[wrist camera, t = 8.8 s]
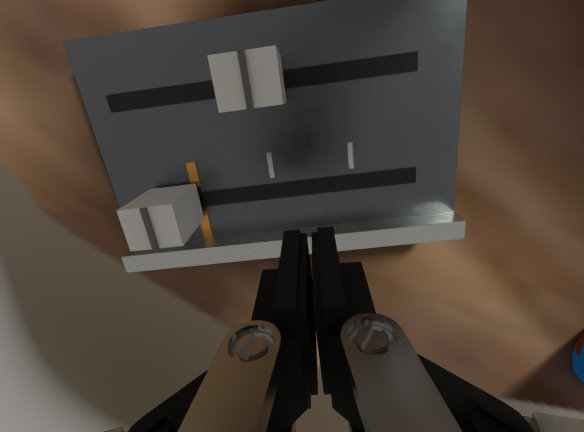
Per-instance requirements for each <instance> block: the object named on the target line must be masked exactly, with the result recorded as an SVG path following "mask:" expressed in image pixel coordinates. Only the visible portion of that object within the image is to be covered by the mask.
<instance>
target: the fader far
mask: <svg viewBox="0 0 584 432" xmlns="http://www.w3.org/2000/svg"><path fill="white" fill-rule="evenodd" d="M117 214H118V217H119V220H120V223H121V226H122V229H123V231H124V234H125V237H126V240H127V243H128V246H129V249H130V251H139V250H148V249H152V250H158V249H159V248H167V247H176V246H184V244H185V243H186V242H187V240H188V239H189V238H190V236H191V235H192V234H193V232H194V231H195V230H196V228H197V227H198V226H199V225H200V223H201V222H202V221H203V219H204V216H203V212H202V208H201V203H200V199H199V195H198V191H197V187H196V184H188V185H179V186H171V187H163V188H154V189H149V190H148V191H146V192H145V193H143V194H142V195H140V196H138V197H137V198H135V199H134V200H132V201H131V202H129V203H127V204H126V205H124V206H123V207H121V208H120V209H118V210H117Z"/></svg>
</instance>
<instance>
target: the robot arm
mask: <svg viewBox="0 0 584 432" xmlns="http://www.w3.org/2000/svg"><path fill="white" fill-rule="evenodd" d="M317 231H318V232H311V238H312V274H311V266H310V257H309V249H308V240H307V233H301V232H300V229H297V230H287V231H284V233H283V240H282V247H281V254H280V260H279V267H278V268H277V269H265V270H263V271H262V275H261V279H260V284H259V288H258V293H257V297H256V301H255V306H254V310H253V315H252V319H251V321H249V322H246V323H242V324H241V325H239V326H237V327H235V328H234V329H232V330H231V331H230V332H229V333H228V334H227V335H226V337H225V338H224V340H223V342H222V344H221V346H220V348H219V350H218V352H217V354H216V356H215V358H214V360H213V362H212V364H211V366H210V368H209V369H208V370H207V371H205V372H204V373H203V374H201V375H200V376H199V377H197V378H196V379H194V380H193V381H192V382H190V383H189V384H188V385H186V386H185V387H184V388H182V389H181V390H179V391H178V392H177V393H175V394H174V395H172V396H171V397H170V398H168V399H167V400H165V401H164V402H163V403H161V404H160V405H159V406H157V407H156V408H154V409H153V410H152V411H150V412H149V413H147V414H146V415H145V416H143V417H142V418H141V419H140V420H139V421H137V422H136V423H135V424H134V425H133V426H132V427H131V428H130V429H129V431H124V430H123V428H122V427H120V428H116V429H112V430H109V431H105V432H297V421H296V420H297V419H298V418H299V417H300V416H301V415H302V414H303V413H304V412H305V411H306V410H307V409H310V408H311V395H318V381H317V351H316V334H317V342H318V350H319V358H320V366H321V374H322V383H323V391H324V394H331V397H332V406H333V409H335V410H336V411H337V412H338V413H339V414H340V415H342V416H343V417H344V418H345V419H346V420H347V421H348V429H349V432H584V420H578V419H572V418H566V417H560V416H554V415H548V414H542V413H536V412H533V415H532V418H531V417H526V416H522V415H521V414H520V413H519V412H517V411H516V410H514V409H513V408H512V407H510V406H509V405H507V404H506V403H504V402H502V401H501V400H499V399H497V398H495V397H493V396H492V395H490V394H488V393H486V392H485V391H483V390H481V389H479V388H477V387H476V386H474V385H472V384H470V383H469V382H467V381H465V380H463V379H461V378H460V377H458V376H456V375H454V374H453V373H451V372H449V371H447V370H445V369H444V368H442V367H440V366H438V365H436V364H435V363H433V362H431V361H429V360H428V359H426V358H424V357H422V356H420V355H419V354H417V353H416V352H415V350H414V349H413V347H412V345H411V343H410V342H409V340H408V338H407V337H406V335H405V333H404V331H403V330H402V328H401V327H400V326H399V325H398V324H397V323H396V322H395V321H393V320H392V319H391V318H389V317H386V316H384V315H381V314H376V312H375V308H374V305H373V301H372V298H371V294H370V291H369V287H368V284H367V280H366V277H365V273H364V270H363V266H362V263H361V262H351V263H339V258H338V252H337V246H336V240H335V234H334V228H333V226H330V227H319V228H317ZM312 276H313V282H312Z"/></svg>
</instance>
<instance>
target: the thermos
mask: <svg viewBox="0 0 584 432" xmlns="http://www.w3.org/2000/svg"><path fill="white" fill-rule="evenodd" d="M572 364H573V371H574V372H575V373H576V375H577V376H578V377H579V378H580V380H581V381H582V382H583V383H584V332H583V333H582V335H581V336H580V337H579V338H578V339H577V342H576V345H575V348H574V350H573V353H572Z"/></svg>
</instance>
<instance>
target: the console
mask: <svg viewBox="0 0 584 432" xmlns="http://www.w3.org/2000/svg"><path fill="white" fill-rule="evenodd" d="M466 9H467V0H328V1H322V2H315V3H309V4H302V5H296V6H289V7H283V8H276V9H270V10H263V11H257V12H251V13H244V14H238V15H231V16H225V17H218V18H212V19H205V20H199V21H192V22H186V23H180V24H173V25H167V26H160V27H154V28H147V29H141V30H134V31H128V32H121V33H115V34H108V35H102V36H96V37H89V38H83V39H76V40H70V41H63V44H64V47H65V50H66V53H67V56H68V59H69V62H70V65H71V67H72V70H73V73H74V76H75V79H76V82H77V85H78V88H79V91H80V94H81V96H82V99H83V102H84V105H85V108H86V111H87V114H88V117H89V120H90V123H91V125H92V128H93V131H94V134H95V137H96V140H97V143H98V146H99V149H100V152H101V154H102V157H103V160H104V163H105V166H106V169H107V172H108V175H109V178H110V181H111V183H112V186H113V189H114V192H115V195H116V198H117V201H118V204H119V207H120V208H121V207H123V206H124V205H126V204H127V203H129V202H131V201H132V200H134V199H135V198H137V197H138V196H140V195H142V194H143V193H145V192H146V191H148V190H149V189H154V188H163V187H171V186H179V185H188V184H196V187H197V191H198V195H199V199H200V203H201V208H202V212H203V216H204V219H203V221H202V222H201V223H200V225H199V226H198V227H197V228H196V230H195V231H194V232H193V234H192V235H191V236H190V238H189V239H188V240H187V242H186V243H185V244H184V246H176V247H167V248H159V249H158V250H152V249H148V250H139V251H130V249H129V250H128V251H127V252H126V253H125V254H124V255H123V256H122V257H121V258H122V261H123V264H124V266H125V269H126V272H127V273H129V272H139V271H149V270H159V269H168V268H178V267H188V266H198V265H208V264H218V263H228V262H237V261H247V260H257V259H267V258H277V257H280V254H281V247H282V240H283V233H284V231H287V230H297V229H300V232H301V233H307V240H308V249H309V254H312V238H311V232H318V231H317V228H319V227H330V226H333V228H334V234H335V240H336V246H337V251H346V250H356V249H365V248H375V247H385V246H395V245H405V244H415V243H424V242H434V241H444V240H454V239H464V236H465V223H466V221H465V220H464V219H463V218H461V217H460V216H459V215H458V214H456V213H455V212H454V199H455V183H456V167H457V151H458V135H459V120H460V104H461V88H462V72H463V56H464V40H465V25H466ZM274 45H276V47H277V49H278V51H279V53H280V55H281V62H282V70H283V78H284V86H285V94H286V103H284V104H282V105H274V106H267V107H259V108H253V109H244V110H237V111H229V112H222V113H219V111H218V106H217V101H216V96H215V91H214V86H213V81H212V76H211V71H210V66H209V61H208V56H207V55H213V54H220V53H227V52H233V51H237V50H242V49H244V50H247V49H254V48H261V47H267V46H274Z"/></svg>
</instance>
